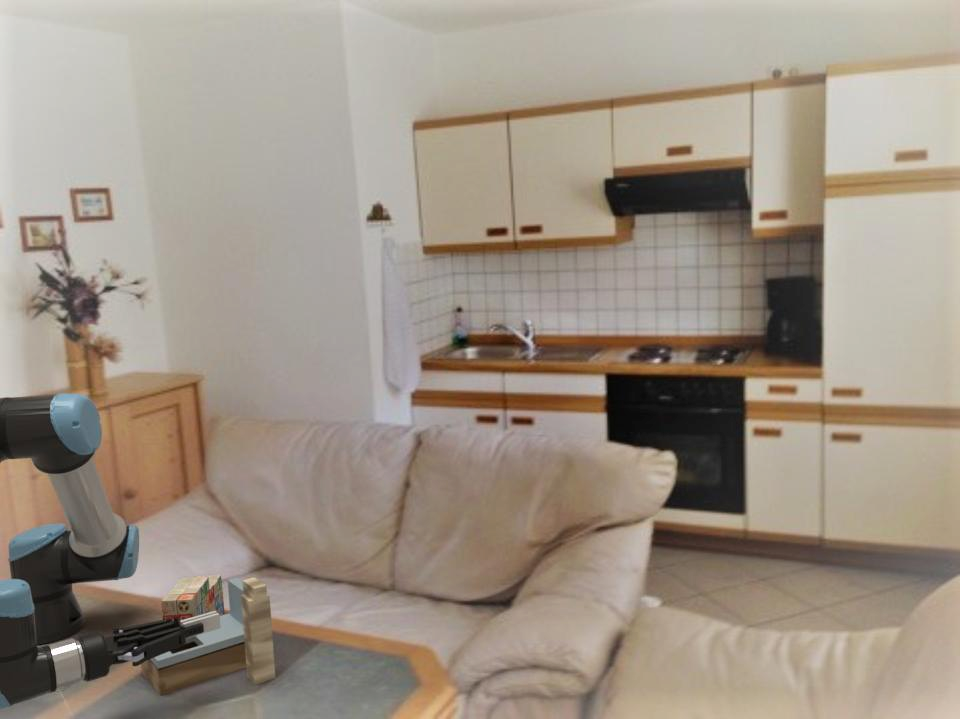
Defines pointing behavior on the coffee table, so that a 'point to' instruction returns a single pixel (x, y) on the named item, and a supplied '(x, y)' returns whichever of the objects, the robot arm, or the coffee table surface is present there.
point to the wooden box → (194, 668)
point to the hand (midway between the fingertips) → (217, 619)
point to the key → (257, 631)
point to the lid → (217, 638)
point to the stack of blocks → (194, 597)
